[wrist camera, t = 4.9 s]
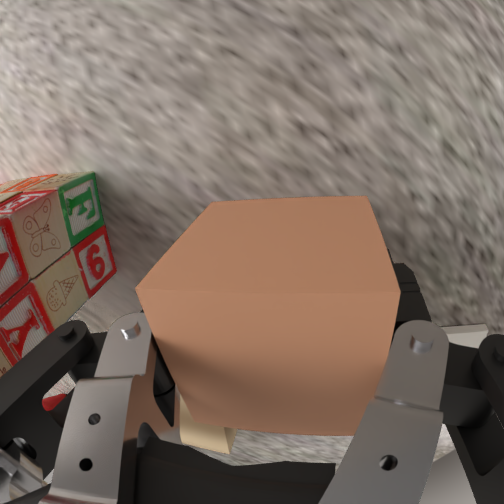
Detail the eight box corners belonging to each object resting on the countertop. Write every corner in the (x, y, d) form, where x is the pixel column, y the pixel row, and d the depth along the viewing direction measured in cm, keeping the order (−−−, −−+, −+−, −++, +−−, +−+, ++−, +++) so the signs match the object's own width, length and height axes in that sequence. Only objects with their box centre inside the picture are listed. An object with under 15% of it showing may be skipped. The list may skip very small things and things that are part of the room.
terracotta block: (211, 201, 10) (135, 288, 6) (366, 195, 9) (400, 292, 5) (235, 319, 13) (194, 421, 8) (360, 321, 11) (365, 435, 7)
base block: (122, 318, 19) (91, 357, 16) (236, 338, 18) (216, 390, 14) (150, 389, 23) (130, 426, 20) (243, 411, 22) (229, 454, 18)
